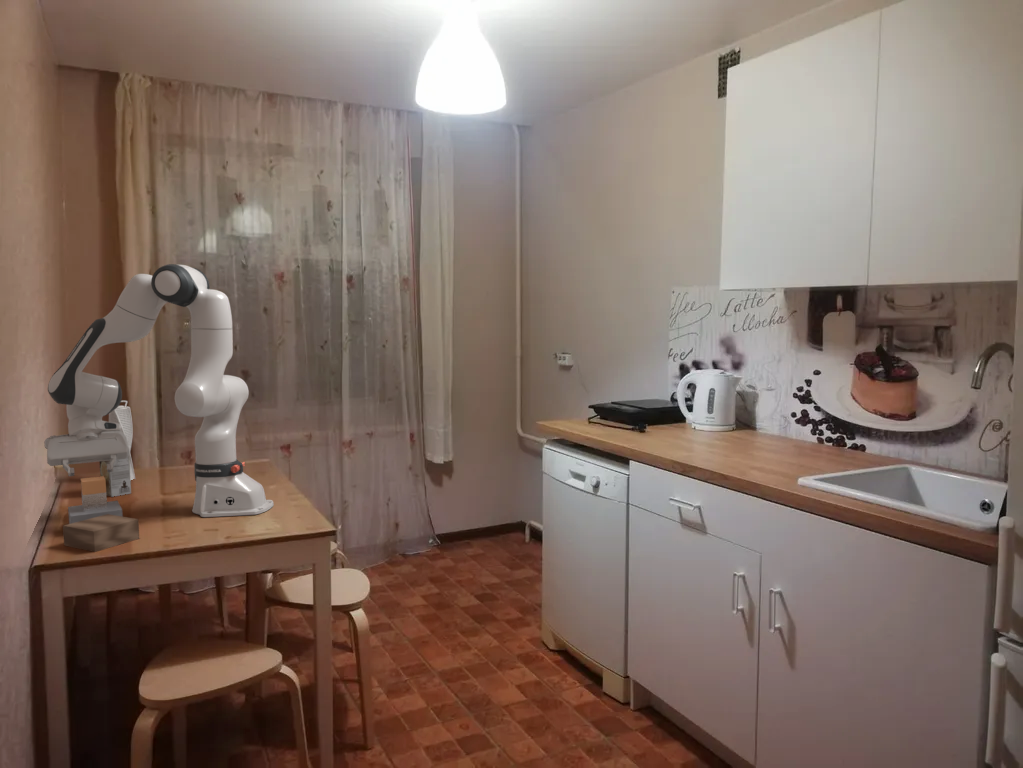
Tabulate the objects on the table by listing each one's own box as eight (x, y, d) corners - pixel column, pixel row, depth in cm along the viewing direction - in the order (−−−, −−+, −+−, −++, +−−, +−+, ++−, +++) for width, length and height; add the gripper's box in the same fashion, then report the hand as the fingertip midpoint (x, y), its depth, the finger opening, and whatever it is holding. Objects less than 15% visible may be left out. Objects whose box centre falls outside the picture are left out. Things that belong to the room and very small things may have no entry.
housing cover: (104, 488, 207) (103, 476, 207) (106, 492, 202) (105, 479, 202) (81, 491, 204) (80, 478, 204) (82, 495, 199) (82, 482, 199)
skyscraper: (118, 479, 265) (113, 400, 262) (140, 479, 265) (136, 400, 262) (104, 484, 257) (99, 403, 254) (127, 484, 256) (122, 402, 254)
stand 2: (108, 532, 198) (107, 514, 197) (139, 538, 192) (138, 519, 192) (64, 545, 187) (62, 525, 187) (95, 551, 182) (93, 531, 181)
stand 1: (118, 518, 212) (117, 500, 212) (123, 527, 202) (122, 509, 202) (69, 524, 206) (68, 506, 205) (71, 535, 196) (70, 516, 195)
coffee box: (100, 493, 243) (97, 443, 242) (121, 489, 248) (118, 441, 246) (111, 497, 237) (108, 447, 235) (132, 493, 242) (129, 444, 240)
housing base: (105, 504, 207) (104, 488, 207) (107, 508, 203) (106, 492, 202) (82, 507, 204) (81, 491, 204) (83, 511, 200) (82, 495, 199)
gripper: (43, 429, 207) (46, 470, 200) (126, 423, 218) (132, 462, 211) (44, 443, 211) (47, 484, 204) (125, 436, 222) (131, 475, 215)
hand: (91, 472), depth 208 cm, fingers open, 8 cm apart
